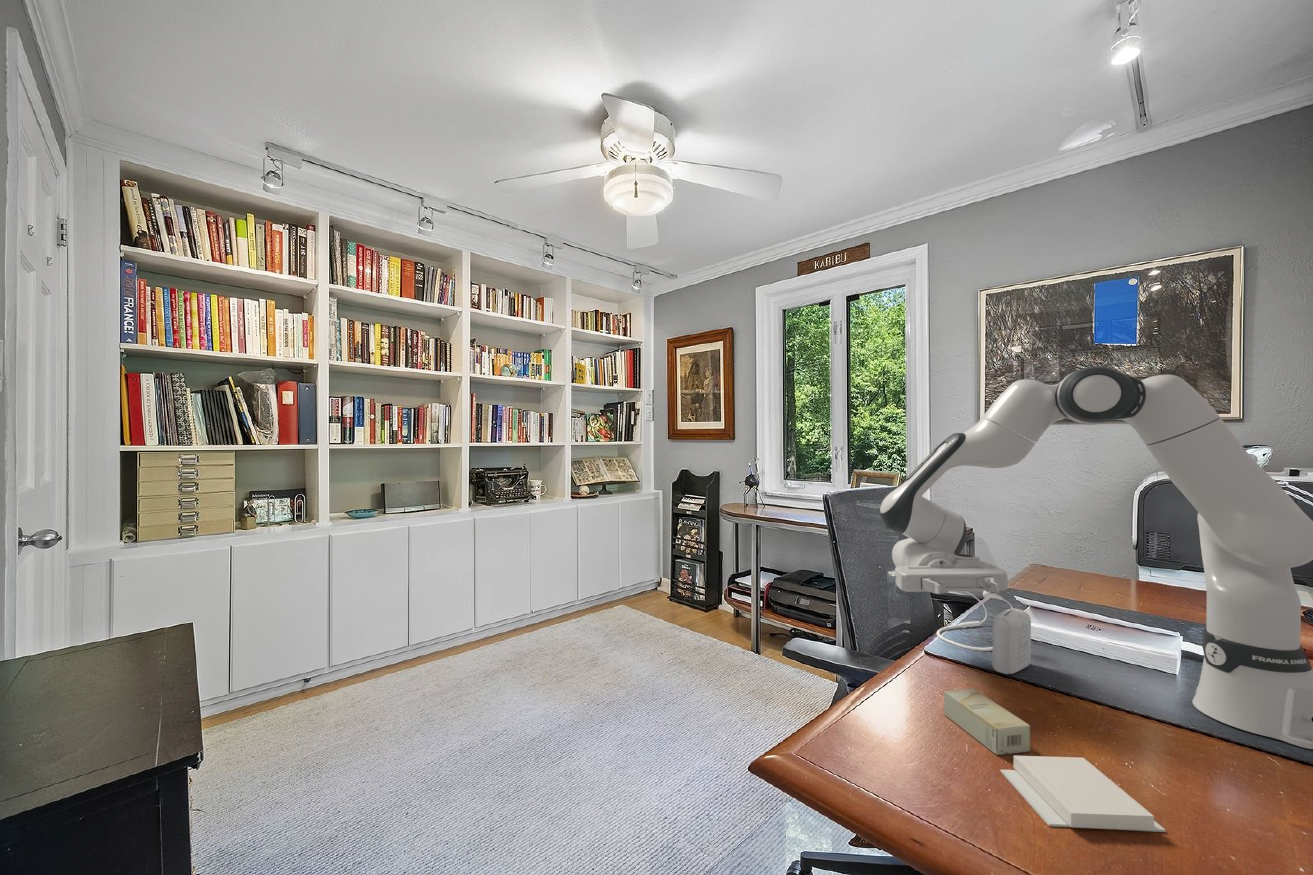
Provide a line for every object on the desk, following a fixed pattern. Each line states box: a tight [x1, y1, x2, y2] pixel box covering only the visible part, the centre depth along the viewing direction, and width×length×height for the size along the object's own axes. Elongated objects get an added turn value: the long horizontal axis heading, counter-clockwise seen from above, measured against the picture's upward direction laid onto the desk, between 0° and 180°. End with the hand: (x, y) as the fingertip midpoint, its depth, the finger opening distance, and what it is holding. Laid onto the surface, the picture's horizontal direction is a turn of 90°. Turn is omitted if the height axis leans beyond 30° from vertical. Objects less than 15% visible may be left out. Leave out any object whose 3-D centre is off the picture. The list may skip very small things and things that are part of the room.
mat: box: [999, 769, 1166, 833], centre depth 74 cm, size 14×11×1 cm
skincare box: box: [943, 688, 1031, 756], centre depth 90 cm, size 6×4×12 cm
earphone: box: [936, 591, 1014, 652], centre depth 131 cm, size 14×17×18 cm
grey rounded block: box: [991, 607, 1032, 675], centre depth 114 cm, size 10×4×12 cm, turn 123°
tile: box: [1012, 755, 1155, 831], centre depth 74 cm, size 10×2×12 cm
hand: (968, 589), depth 99 cm, fingers open, 8 cm apart
